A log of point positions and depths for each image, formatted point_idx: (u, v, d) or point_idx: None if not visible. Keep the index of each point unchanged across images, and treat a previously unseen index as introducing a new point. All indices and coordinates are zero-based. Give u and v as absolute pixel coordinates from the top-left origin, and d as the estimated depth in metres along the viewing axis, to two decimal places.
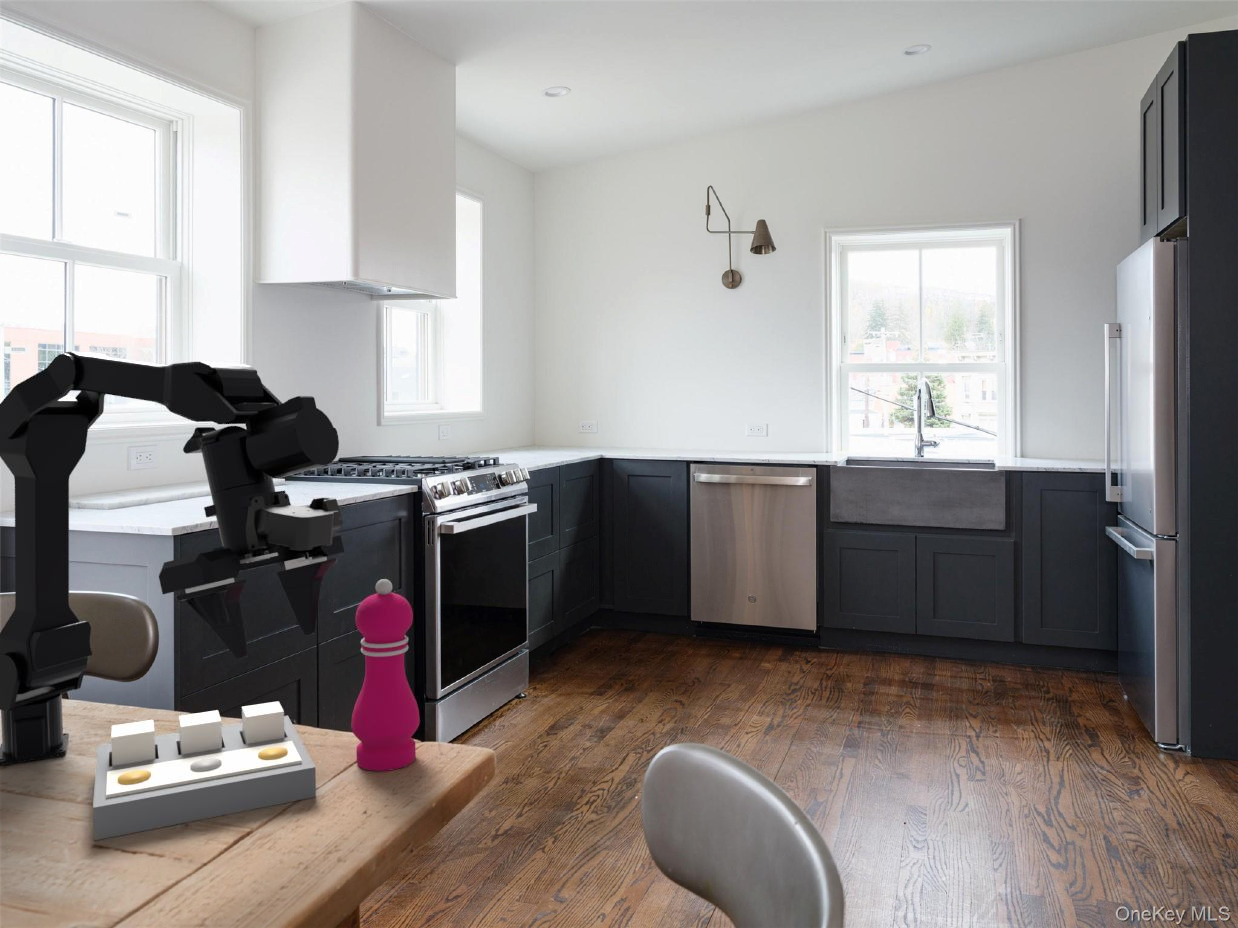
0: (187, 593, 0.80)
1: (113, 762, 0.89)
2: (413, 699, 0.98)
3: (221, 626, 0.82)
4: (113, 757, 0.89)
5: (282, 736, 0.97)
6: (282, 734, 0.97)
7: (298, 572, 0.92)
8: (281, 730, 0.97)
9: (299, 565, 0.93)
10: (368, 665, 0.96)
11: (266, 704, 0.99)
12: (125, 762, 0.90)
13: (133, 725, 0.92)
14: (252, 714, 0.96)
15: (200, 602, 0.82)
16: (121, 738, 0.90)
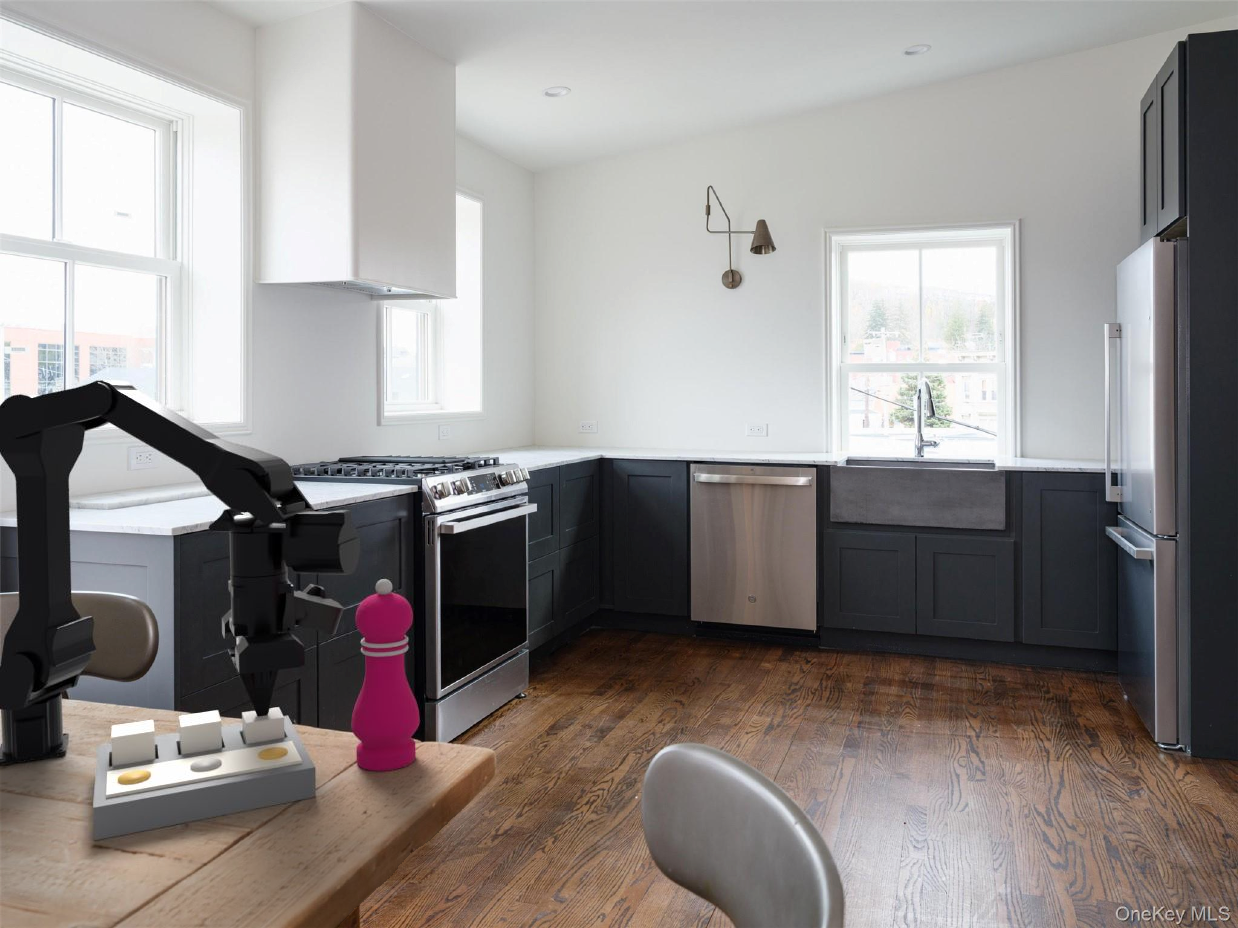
0: None
1: (113, 762, 0.89)
2: (413, 699, 0.98)
3: (259, 689, 0.96)
4: (113, 757, 0.89)
5: None
6: None
7: None
8: (281, 736, 0.97)
9: None
10: (368, 665, 0.96)
11: None
12: (125, 762, 0.90)
13: (133, 725, 0.92)
14: (252, 720, 0.96)
15: None
16: (121, 738, 0.90)
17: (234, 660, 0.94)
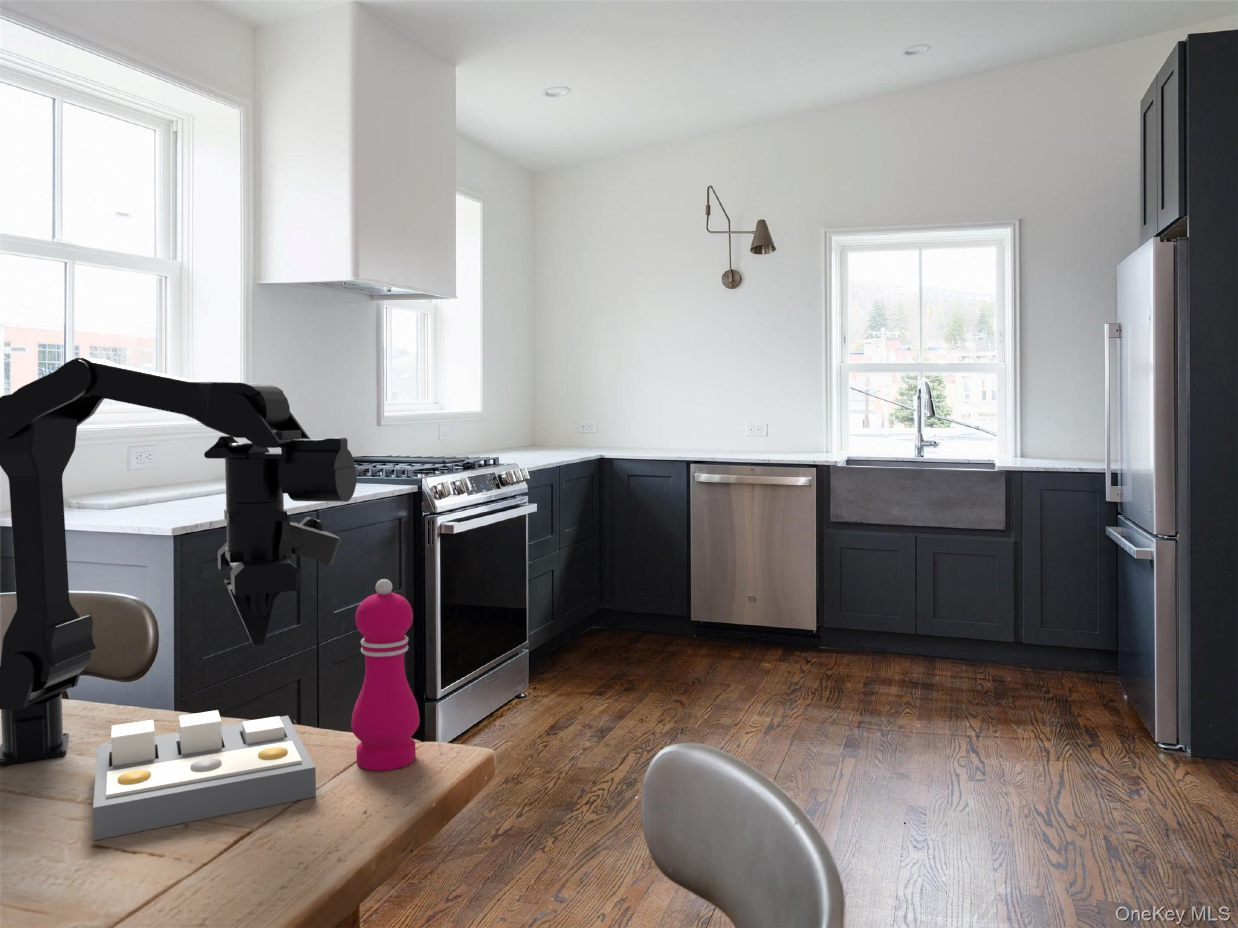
0: None
1: (113, 762, 0.89)
2: (413, 699, 0.98)
3: (255, 617, 0.96)
4: (113, 757, 0.89)
5: None
6: None
7: None
8: None
9: None
10: (368, 665, 0.96)
11: (266, 719, 0.99)
12: (125, 762, 0.90)
13: (133, 725, 0.92)
14: (253, 729, 0.96)
15: (244, 596, 0.94)
16: (121, 738, 0.90)
17: (230, 587, 0.93)
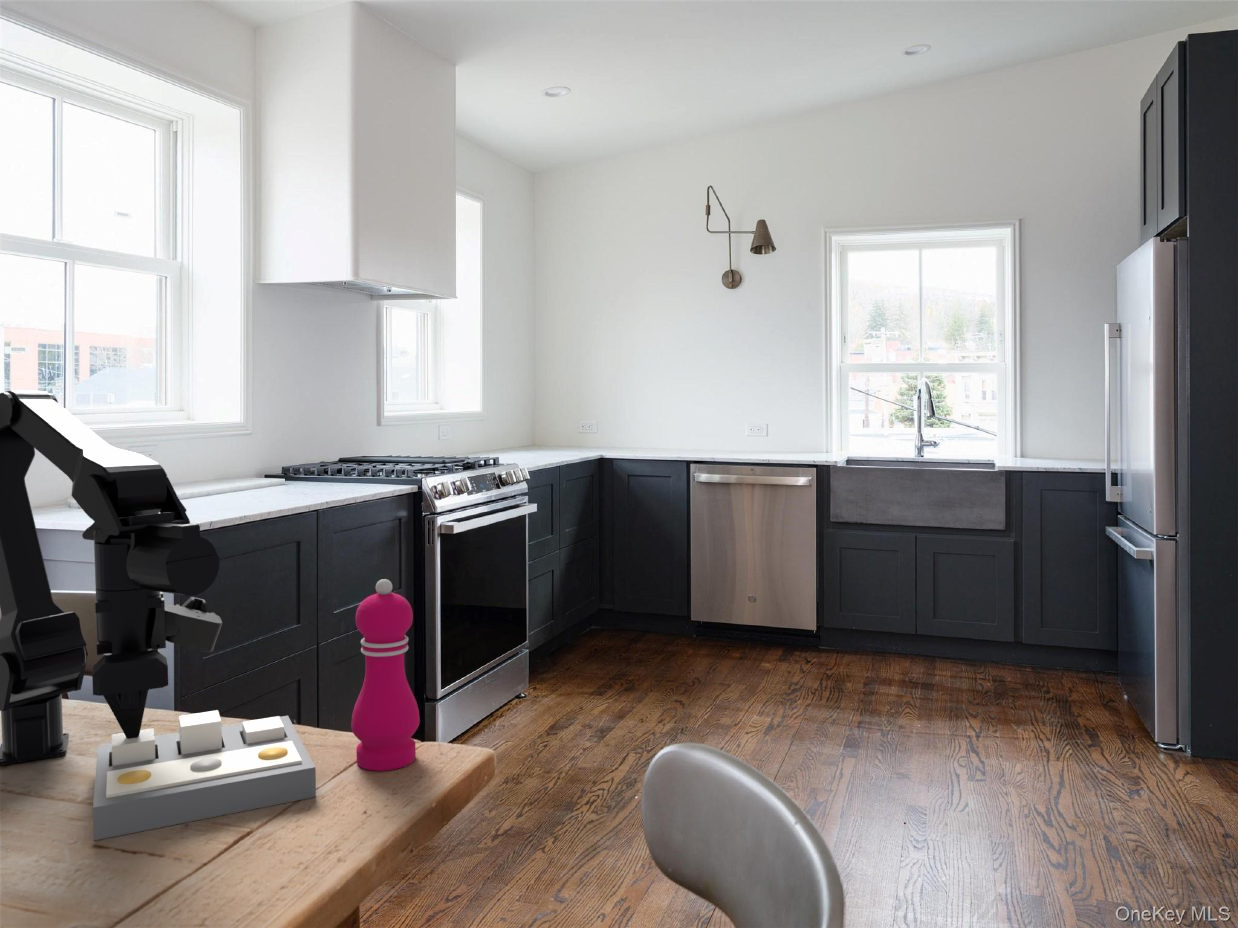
0: None
1: None
2: (413, 699, 0.98)
3: (127, 709, 0.90)
4: None
5: None
6: None
7: None
8: None
9: None
10: (368, 665, 0.96)
11: (266, 719, 0.99)
12: None
13: None
14: (253, 729, 0.96)
15: None
16: (121, 747, 0.90)
17: None
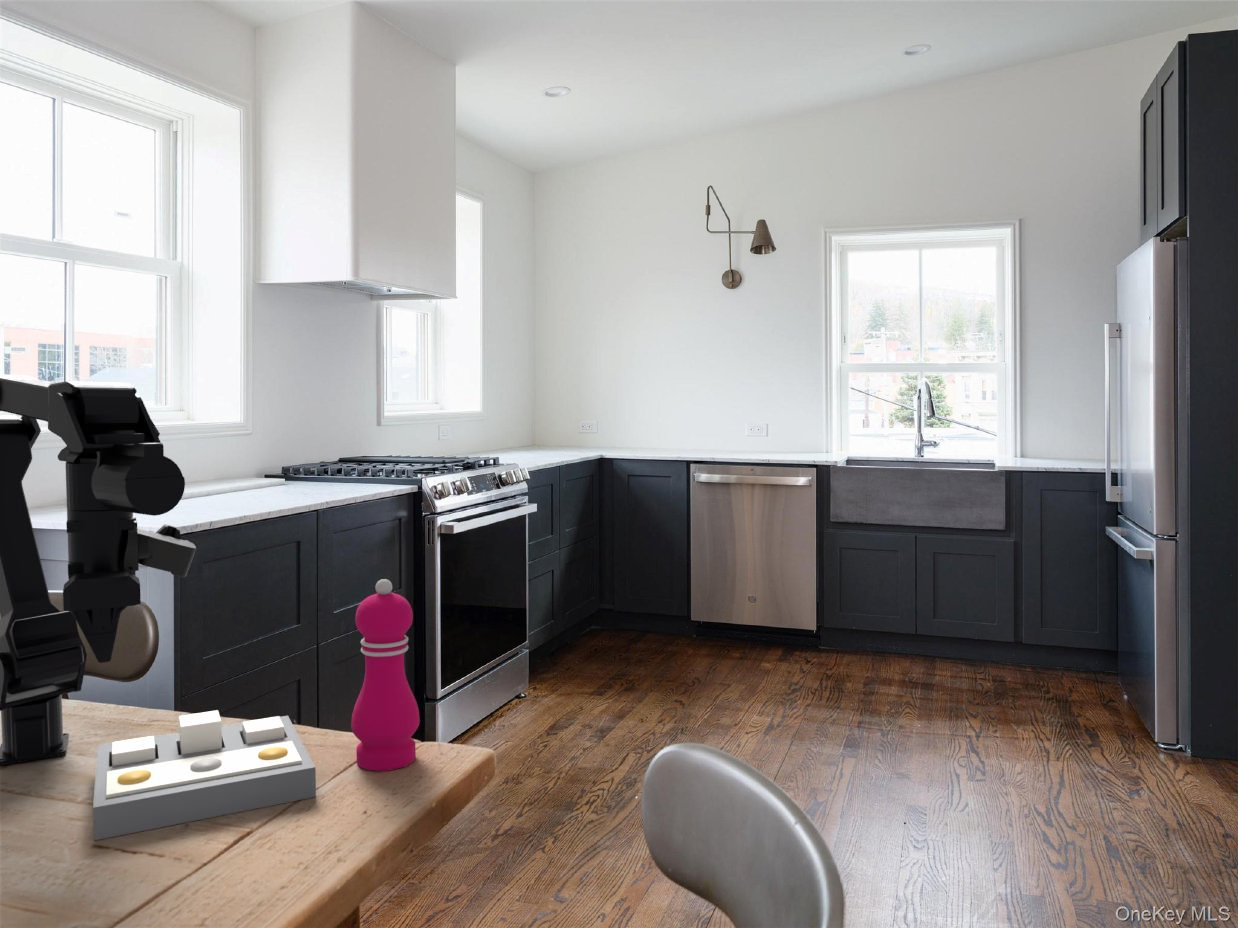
0: None
1: None
2: (413, 699, 0.98)
3: (98, 632, 0.89)
4: None
5: None
6: None
7: None
8: None
9: None
10: (368, 665, 0.96)
11: (266, 719, 0.99)
12: None
13: (134, 742, 0.93)
14: (253, 729, 0.96)
15: (84, 609, 0.88)
16: (121, 755, 0.90)
17: None
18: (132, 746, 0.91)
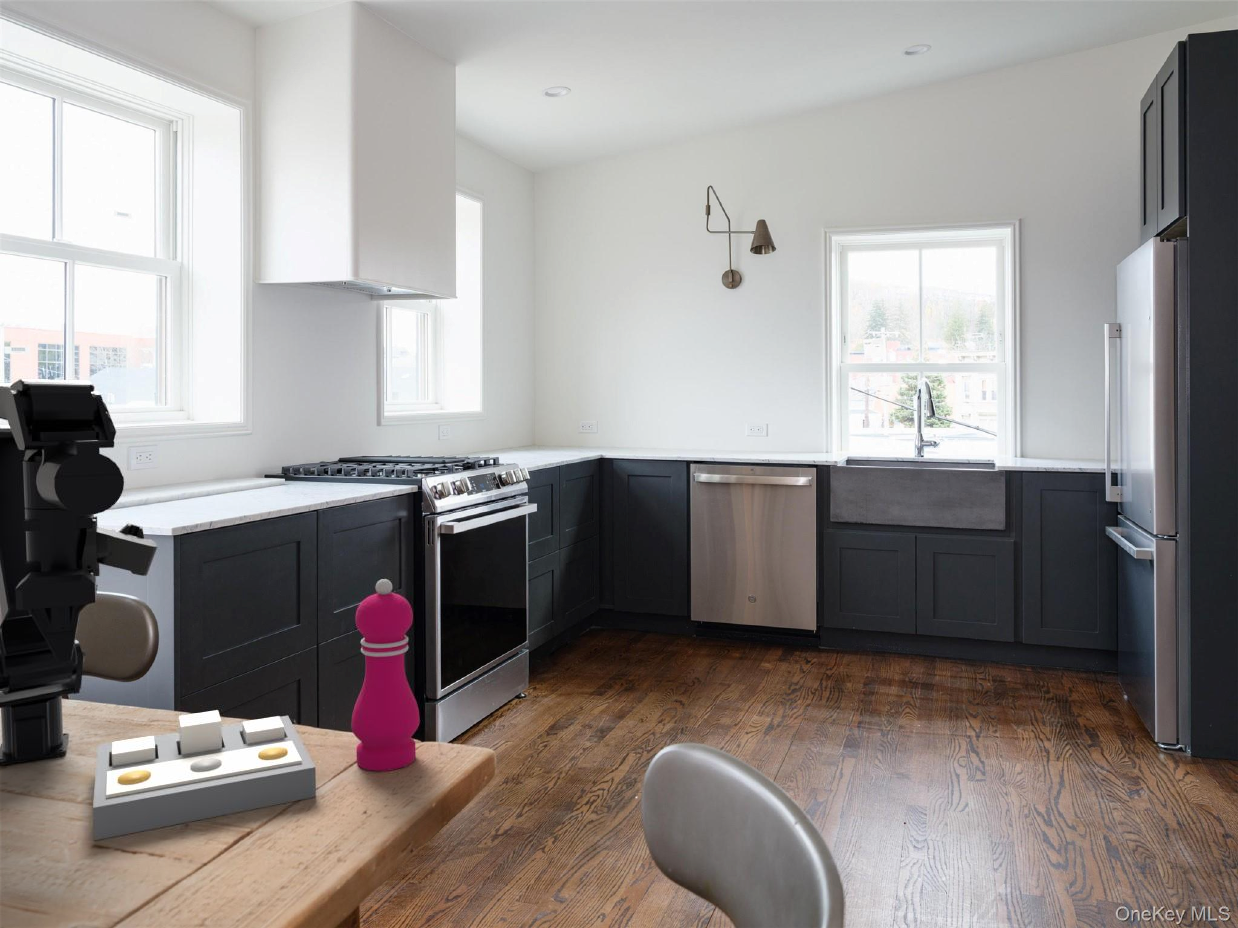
0: None
1: None
2: (413, 699, 0.98)
3: (57, 632, 0.89)
4: None
5: None
6: None
7: None
8: None
9: None
10: (368, 665, 0.96)
11: (266, 719, 0.99)
12: None
13: (134, 742, 0.93)
14: (253, 729, 0.96)
15: (42, 609, 0.87)
16: (121, 755, 0.90)
17: None
18: (132, 746, 0.91)
